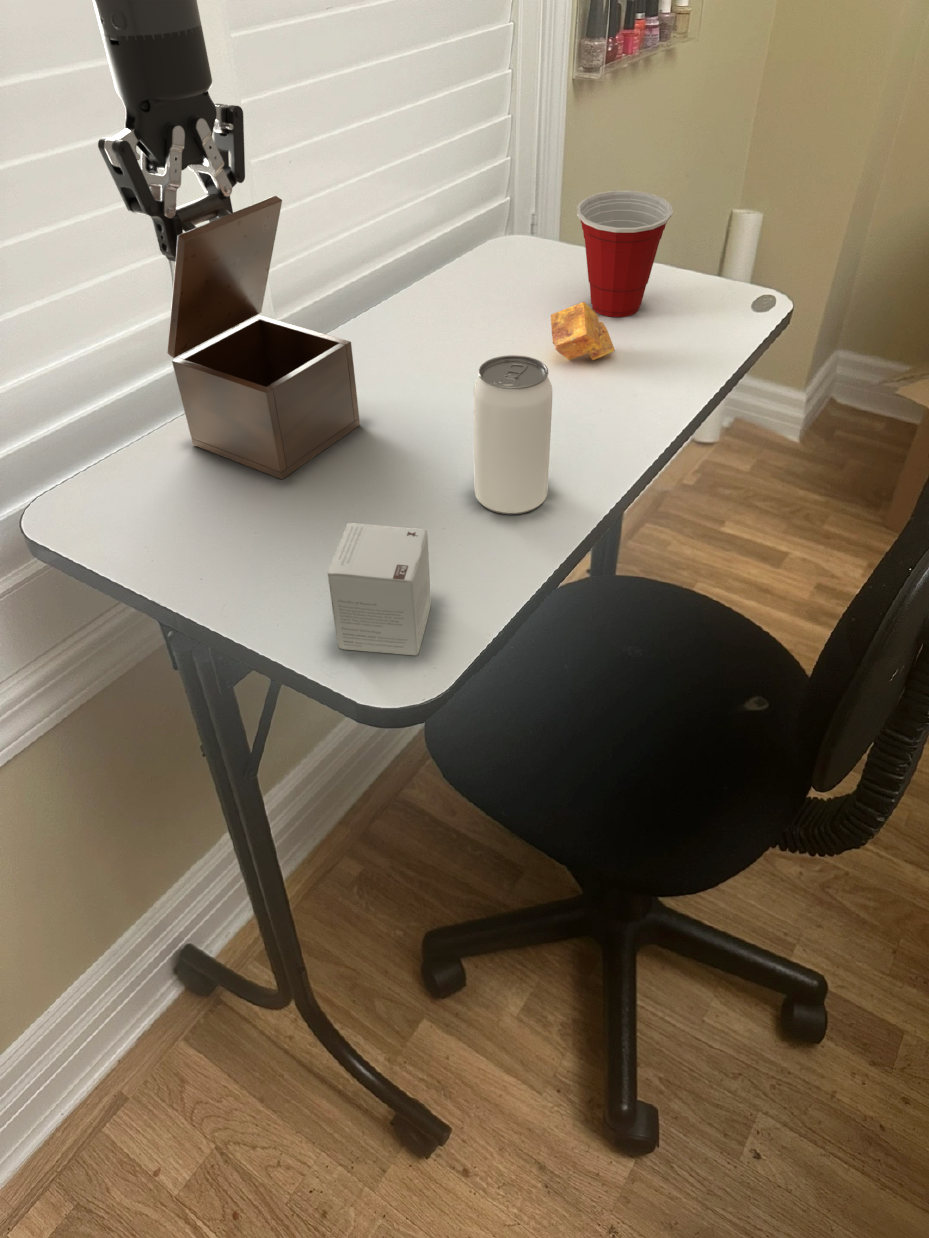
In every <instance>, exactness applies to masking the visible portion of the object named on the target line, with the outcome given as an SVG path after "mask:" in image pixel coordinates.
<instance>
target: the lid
mask: <svg viewBox="0 0 929 1238" xmlns="http://www.w3.org/2000/svg"><path fill="white" fill-rule="evenodd" d="M207 195H208V194H207ZM207 195H204V196H205V197H204V196H203V197H201V198H198V199H196V200H193V201H190V202H187V203H185V204H182V205H179V206H176V214H175V216H179V218H180V223H181V227H182V230H183V233H182V234H180V235H178V240H177V251H176V262H174V263H175V265H174V275H173V286H172V297H171V308H170V309H171V310H170V318H169V319H170V321H169V331H168V342H167V343H168V344H167V355H168V356H170V357H172V359H176V358H178V357H180V356H182V355H184V354H186V353H188V352H190V351H192V350H193V349H195V348H197V347H199V346H201V345H203V344H205V343H207V342H209V341H211V340H213V339H215V338H216V337H218V336H220V335H222V334H224V333H226V332H228V331H230V330H232V329H234V328H236V327H238V326H240V325H241V324H243V323H245V322H247V321H249V320H251V319H253V318H255V317H257V316H259V315H260V314H261V313H262V311H263V307H264V306H263V305H264V300H265V294H266V290H267V285H268V279H269V273H270V268H271V263H272V257H273V252H274V246H275V241H276V237H277V231H278V224H279V220H280V214H281V210H282V204H283V199H282V198H281V197H279V196H278V195H275V194H274V195H273V196H270V197H268V198H265V199H263V200H260V201H258V202H256V203H253V204H251V205H248V206H246V207H243V208H241V209H238V210H236V211H233V213H231V214H230V213H229V212H228V211H227V210H225V209H224V206H223V203H222V201H221V199H220V198H219V197H218V196H217V195H215V194H211V195H208V196H207ZM216 217H218V218H219V219H216V220H214V221H212V222H209V220H211V219H213V218H216ZM205 222H206V223H205ZM203 223H204V224H203ZM201 224H202V225H201ZM198 225H199V226H198Z"/></svg>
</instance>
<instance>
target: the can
mask: <svg viewBox="0 0 929 1238" xmlns="http://www.w3.org/2000/svg"><path fill="white" fill-rule="evenodd" d="M552 413H553V385H552V383H551V380H550V378H549V368H548V366H547V365H546V364H545V363H543V362H542V361H541V360H539V359H536V358H534V357H531V356H526V355H517V354H515V355H514V354H509V355H501V356H500V355H499V356H496V357H493V358H490V359H488V360H486V361H484V362H483V363H482V364H481V365H480V366H479V368H478V377H477V379H476V381H475V384H474V387H473V467H474V468H473V469H474V470H473V471H474V473H473V475H474V479H473V480H474V495H475V498H476V499H477V502H479V504H481V505H482V506H483V507H484V508H486V509H487V510H489V511H490V512H493V513H497V514H502V515H520V514H521V515H522V514H526V513H529V512H531V511H533V510H535V509H537V508H538V507H539V506H540V505H541V504H543V503H544V501H545V500H546V499H547V496H548V487H549V473H550V453H551V436H552V435H551V433H552V416H553V415H552Z"/></svg>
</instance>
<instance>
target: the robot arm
mask: <svg viewBox="0 0 929 1238" xmlns="http://www.w3.org/2000/svg"><path fill="white" fill-rule="evenodd" d="M92 3H93V7H94V12H95V15H96V19H97V23H98V27H99V31H100V34H101V39H102V42H103V46H104V50H105V54H106V59H107V61H108V67H109V70H110V74H111V77H112V81H113V85H114V90H115V92H116V94H117V96H118V97H119V98H120V100H121V102H122V104H123V106H124V110H125V118H124V129H123V130H121V131H120V132H119V133H117V134H115V135H114V136H112V137H106V136H105V137H104V136H103V137H100V138H99V139H98V142H97V147H98V148H97V149H98V150H99V153H100V154H101V157H102V159H103V161H104V163H105V165H106V167H107V170H108V171H109V174H110V176H111V178H112V180H113V182H114V184H115V186H116V188H117V190H118V192H119V195H120V197H121V199H122V201H123V203H124V205H125V208H126V209H127V211H128V212H129V213H133V214H139V215H145V216H147V217H150V219H151V220H152V224H153V227H154V232H155V236H156V240H157V243H158V247H159V251H160V252H161V254H162V256H165V258H166V259H167V260H168V261H170V262H174V263H175V262H176V251H177V240H178V235H180V234H182V233H184V231H183V230H182V227H181V223H180V218H179V216H175V214H176V208H177V197H178V196H177V195H178V194H177V193H178V192H177V191H178V190H179V189H180V188H181V185H182V174H183V173H182V171H184V170H186V169H187V168H188V169H189V170H190V171H192V172H193V174H194V175H195V176H196V178H197V180H198V183H199V184H200V186H201V188H202V189H203V191H204V193H206V194H207V195H204V196H203V197H205V196H208V195H211V194H215V195H217V196H218V197H219V198H220V199H221V201H222V203H223V206H224V209H225V210H227V211H228V212H229V213H230V214H231V213H234V209H233V204H232V200H231V195H232V194H233V188H234V187H235V186H236V185H237V184H242V183H244V181H245V179H246V161H245V160H246V158H245V132H244V131H245V124H244V123H245V121H244V110H243V108H242V107H241V106H239V105H235V104H227V103H218V102H217V103H215V102H214V101H213V100H212V98H211V95H210V93H209V90H210V89H211V88H212V86H213V77H212V71H211V66H210V62H209V57H208V51H207V46H206V40H205V35H204V30H203V26H202V21H201V16H200V11H199V5H198V0H92ZM137 148H138V150H139V151H140V152H141V155H140V154H139V153H138V151H137ZM229 156H230V157H229ZM139 160H140V161H141V162H140V164H139ZM158 169H159V170H162V171H164V173H163V174H160V173H159V170H158ZM216 219H219V218H218V217H216V218H213V219H211V220H208V223H209V222H212V221H214V220H216Z"/></svg>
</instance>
